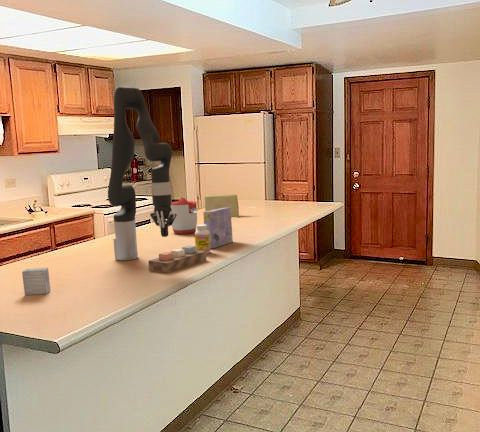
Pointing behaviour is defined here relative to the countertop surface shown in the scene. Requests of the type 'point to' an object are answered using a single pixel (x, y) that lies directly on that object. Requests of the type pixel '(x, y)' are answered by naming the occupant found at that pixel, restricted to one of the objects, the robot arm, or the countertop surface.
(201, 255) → the key panel
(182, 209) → the citrus juicer
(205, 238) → the supplement bottle
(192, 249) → the slate key
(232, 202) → the cheese
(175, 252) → the cream cube
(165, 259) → the pink cube
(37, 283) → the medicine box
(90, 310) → the countertop surface
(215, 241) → the cake pan box
